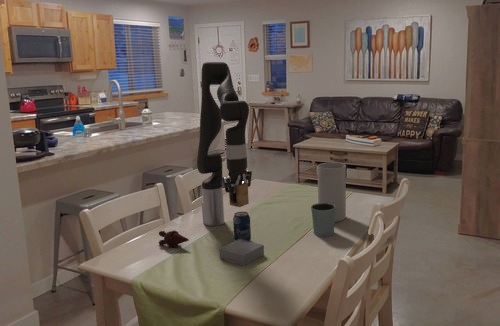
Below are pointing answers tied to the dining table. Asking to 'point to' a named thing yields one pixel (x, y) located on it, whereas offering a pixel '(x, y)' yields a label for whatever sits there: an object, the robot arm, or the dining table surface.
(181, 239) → the dark brown animal figure
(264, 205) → the dining table surface
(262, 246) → the slate base
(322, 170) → the cylinder vase
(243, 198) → the walnut block
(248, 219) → the soda can
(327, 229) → the blue gray cup
